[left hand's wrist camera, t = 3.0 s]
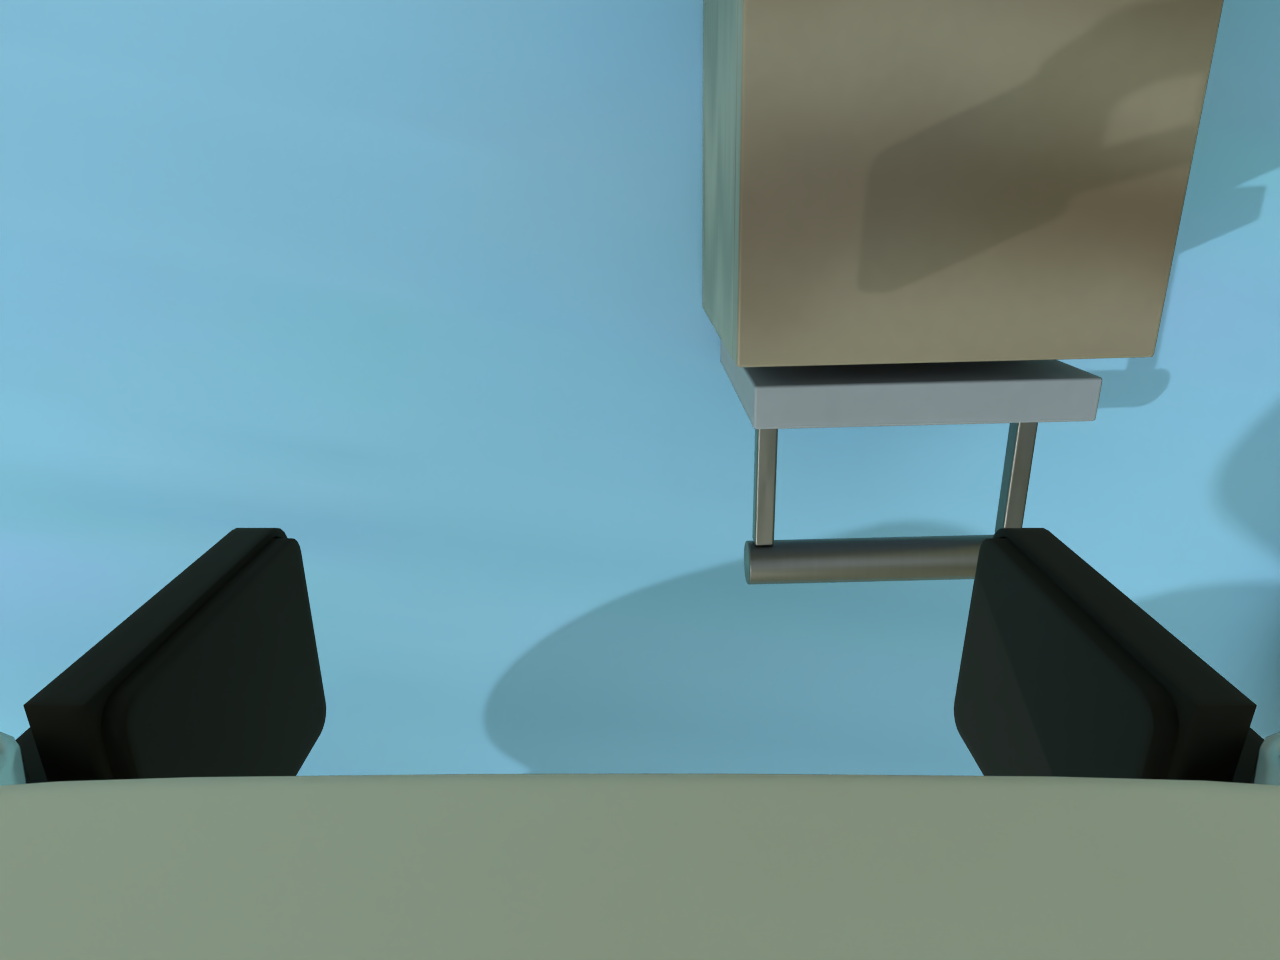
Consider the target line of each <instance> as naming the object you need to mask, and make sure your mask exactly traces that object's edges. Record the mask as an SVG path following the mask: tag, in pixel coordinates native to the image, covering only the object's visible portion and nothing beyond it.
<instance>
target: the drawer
mask: <svg viewBox="0 0 1280 960" xmlns="http://www.w3.org/2000/svg"><path fill="white" fill-rule="evenodd" d="M721 363H722V365H723V367H724V369H725V371H726V373H727V375H728V377H729V379H730V381H731V383H732V385H733V387H734V389H735V391H736V393H737V395H738V397H739V399H740V401H741V403H742V405H743V407H744V409H745V411H746V413H747V415H748V417H749V419H750V421H751V423H752V425H753V427H754V429H755V464H754V502H753V540H754V541H746V543H745V548H744V568H745V577H746V581H747V583H748V584H784V583H826V582H868V581H909V580H951V579H975V573H976V567H977V561H978V555H979V550H980V546H981V544H982V542H983V541H984V540H985V539H988V538H993V536H994V535H968V536H927V537H885V538H844V539H803V540H774V522H775V494H776V467H777V439H778V429H785V428H826V427H866V426H906V425H946V424H987V423H1010V427H1009V434H1008V441H1007V448H1006V455H1005V463H1004V470H1003V477H1002V484H1001V491H1000V499H999V506H998V513H997V520H996V527H995V533H996V531H998V530H999V529H1001V528H1022V524H1023V518H1024V511H1025V504H1026V498H1027V491H1028V485H1029V478H1030V471H1031V465H1032V458H1033V452H1034V445H1035V438H1036V432H1037V425H1038V422H1067V421H1093V420H1095V418H1096V412H1097V407H1098V401H1099V395H1100V390H1101V384H1102V378H1101V377H1098V376H1096V375H1093V374H1091V373H1088V372H1086V371H1083V370H1081V369H1078V368H1076V367H1073V366H1070V365H1068V364H1065V363H1063V362H1060V361H1058V360H1016V361H976V362H937V363H897V364H857V365H817V366H777V367H737V365H736V363H735V362H734V360H733V359H732V358H731V356H730V354H729V352H728V351H727V349H726V347H725V345H724V344H723V342H722V340H721Z"/></svg>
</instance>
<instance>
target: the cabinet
mask: <svg viewBox="0 0 1280 960" xmlns="http://www.w3.org/2000/svg"><path fill="white" fill-rule="evenodd" d="M1223 1H1224V0H703V309H704V310H705V313H706V314H707V316H708V318H709V319H710V321H711V323H712V325H713V326H714V328H715V330H716V332H717V333H718V335H719V337H720V339H721V340H722V342H723V344H724V345H725V347H726V349H727V351H728V352H729V354H730V356H731V358H732V359H733V360H734V362H735V363H736V365H737V367H777V366H817V365H857V364H897V363H937V362H976V361H1016V360H1056V359H1096V358H1135V357H1151V356H1153V355H1154V351H1155V346H1156V341H1157V336H1158V331H1159V326H1160V321H1161V316H1162V311H1163V306H1164V301H1165V295H1166V290H1167V285H1168V280H1169V275H1170V270H1171V265H1172V260H1173V255H1174V250H1175V245H1176V240H1177V235H1178V230H1179V224H1180V219H1181V214H1182V209H1183V204H1184V199H1185V194H1186V189H1187V184H1188V179H1189V174H1190V169H1191V164H1192V159H1193V153H1194V148H1195V143H1196V138H1197V133H1198V128H1199V123H1200V118H1201V113H1202V108H1203V103H1204V98H1205V93H1206V87H1207V82H1208V77H1209V72H1210V67H1211V62H1212V57H1213V52H1214V47H1215V42H1216V37H1217V32H1218V27H1219V22H1220V16H1221V11H1222V6H1223Z"/></svg>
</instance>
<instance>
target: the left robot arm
mask: <svg viewBox="0 0 1280 960" xmlns="http://www.w3.org/2000/svg"><path fill="white" fill-rule="evenodd" d="M24 709H25V712H26V715H27V718H28V721H29V724H30V728H29V729H28V730H27V731H25V732H24V733H23V734H22V735H21V736H20V737H19V738H18V739H16V740H15V739H14V737H12V736H10V735H7V734H5V733H2V732H0V960H1280V732H1278V733H1275V734H1273V735H1270V736H1268V737H1266V739H1265V740H1264V739H1262V738H1261V737H1260V736H1259V735H1258V734H1257V733H1256V732H1255V731H1253V730H1252V729H1251V728H1250V724H1251V721H1252V718H1253V715H1254V712H1255V709H1256V704H1254V703H1253V702H1252V701H1251V700H1250V699H1249V698H1247V697H1246V696H1245V695H1244V694H1243V693H1241V692H1240V691H1239V690H1238V689H1237V688H1235V687H1234V686H1233V685H1232V684H1231V683H1229V682H1228V681H1227V680H1226V679H1225V678H1223V677H1222V676H1221V675H1220V674H1219V673H1217V672H1216V671H1215V670H1214V669H1213V668H1212V667H1210V666H1209V665H1208V664H1207V663H1206V662H1204V661H1203V660H1202V659H1201V658H1200V657H1198V656H1197V655H1196V654H1195V653H1194V652H1192V651H1191V650H1190V649H1189V648H1188V647H1186V646H1185V645H1184V644H1183V643H1182V642H1181V641H1179V640H1178V639H1177V638H1176V637H1175V636H1173V635H1172V634H1171V633H1170V632H1169V631H1167V630H1166V629H1165V628H1164V627H1163V626H1161V625H1160V624H1159V623H1158V622H1157V621H1155V620H1154V619H1153V618H1152V617H1151V616H1150V615H1148V614H1147V613H1146V612H1145V611H1144V610H1142V609H1141V608H1140V607H1139V606H1138V605H1136V604H1135V603H1134V602H1133V601H1132V600H1130V599H1129V598H1128V597H1127V596H1126V595H1124V594H1123V593H1122V592H1121V591H1120V590H1119V589H1117V588H1116V587H1115V586H1114V585H1113V584H1111V583H1110V582H1109V581H1108V580H1107V579H1105V578H1104V577H1103V576H1102V575H1101V574H1099V573H1098V572H1097V571H1096V570H1095V569H1093V568H1092V567H1091V566H1090V565H1089V564H1088V563H1086V562H1085V561H1084V560H1083V559H1082V558H1080V557H1079V556H1078V555H1077V554H1076V553H1074V552H1073V551H1072V550H1071V549H1070V548H1068V547H1067V546H1066V545H1065V544H1064V543H1062V542H1061V541H1060V540H1059V539H1058V538H1057V537H1055V536H1054V535H1053V534H1052V533H1051V532H1049V531H1048V530H1046V529H1044V528H1001V529H999V530H998V531H996V533H995V534H994V536H993V538H988V539H985V540H984V541H983V542H982V544H981V546H980V550H979V555H978V561H977V567H976V573H975V579H974V585H973V592H972V598H971V604H970V610H969V616H968V622H967V628H966V635H965V641H964V647H963V653H962V659H961V665H960V672H959V678H958V684H957V690H956V696H955V702H954V717H955V723H956V726H957V729H958V732H959V734H960V735H961V737H962V739H963V741H964V742H965V744H966V746H967V747H968V749H969V751H970V753H971V754H972V756H973V758H974V759H975V761H976V763H977V765H978V766H979V768H980V770H981V771H982V773H983V775H984V776H929V775H813V774H440V775H348V776H296V775H297V773H298V771H299V770H300V768H301V766H302V765H303V763H304V761H305V759H306V758H307V756H308V754H309V753H310V751H311V749H312V747H313V746H314V744H315V742H316V741H317V739H318V737H319V735H320V734H321V732H322V729H323V726H324V723H325V717H326V702H325V696H324V690H323V684H322V678H321V672H320V665H319V659H318V653H317V647H316V641H315V635H314V628H313V622H312V616H311V610H310V604H309V598H308V592H307V585H306V579H305V573H304V567H303V561H302V555H301V550H300V546H299V544H298V542H297V541H296V540H295V539H292V538H287V536H286V534H285V533H284V531H282V530H281V529H279V528H236V529H234V530H232V531H231V532H229V533H228V534H227V535H226V536H225V537H223V538H222V539H221V540H220V541H219V542H218V543H216V544H215V545H214V546H213V547H212V548H210V549H209V550H208V551H207V552H206V553H204V554H203V555H202V556H201V557H200V558H198V559H197V560H196V561H195V562H194V563H192V564H191V565H190V566H189V567H188V568H187V569H185V570H184V571H183V572H182V573H181V574H179V575H178V576H177V577H176V578H175V579H173V580H172V581H171V582H170V583H169V584H167V585H166V586H165V587H164V588H163V589H161V590H160V591H159V592H158V593H157V594H156V595H154V596H153V597H152V598H151V599H150V600H148V601H147V602H146V603H145V604H144V605H142V606H141V607H140V608H139V609H138V610H136V611H135V612H134V613H133V614H132V615H130V616H129V617H128V618H127V619H126V620H125V621H123V622H122V623H121V624H120V625H119V626H117V627H116V628H115V629H114V630H113V631H111V632H110V633H109V634H108V635H107V636H105V637H104V638H103V639H102V640H101V641H99V642H98V643H97V644H96V645H95V646H94V647H92V648H91V649H90V650H89V651H88V652H86V653H85V654H84V655H83V656H82V657H80V658H79V659H78V660H77V661H76V662H74V663H73V664H72V665H71V666H70V667H68V668H67V669H66V670H65V671H64V672H63V673H61V674H60V675H59V676H58V677H57V678H55V679H54V680H53V681H52V682H51V683H49V684H48V685H47V686H46V687H45V688H43V689H42V690H41V691H40V692H39V693H37V694H36V695H35V696H34V697H33V698H32V699H30V700H29V701H28V702H27V703H26V704H24Z"/></svg>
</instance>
